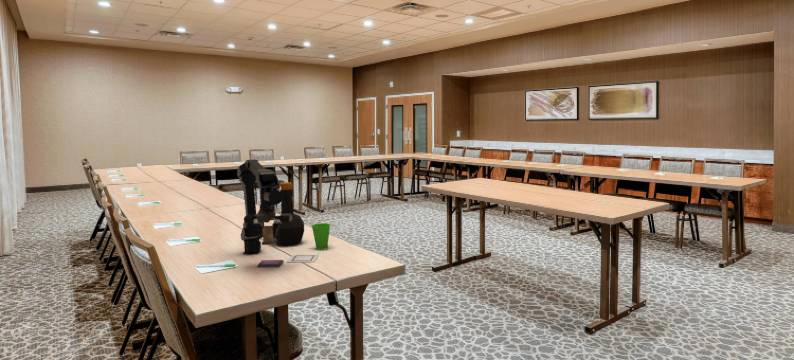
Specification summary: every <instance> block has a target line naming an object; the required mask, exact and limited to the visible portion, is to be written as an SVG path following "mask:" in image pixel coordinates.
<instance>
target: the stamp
mask: <svg viewBox="0 0 794 360" xmlns="http://www.w3.org/2000/svg"><path fill="white" fill-rule="evenodd" d="M273 234H274V226H272V225H264V227H263V237H262V241H261V246H264V245H265V246H274V245H276V242H277V239H274V236H273Z"/></svg>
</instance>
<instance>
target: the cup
mask: <svg viewBox="0 0 794 360" xmlns="http://www.w3.org/2000/svg"><path fill="white" fill-rule="evenodd" d="M310 226H311V229H312V233H313V237H314V242H315V247H316V248H315V249H317V250H326V249H327V248H328V244H329V236H330V228H331V223H327V222H320V223H314V224H311V225H310Z"/></svg>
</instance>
